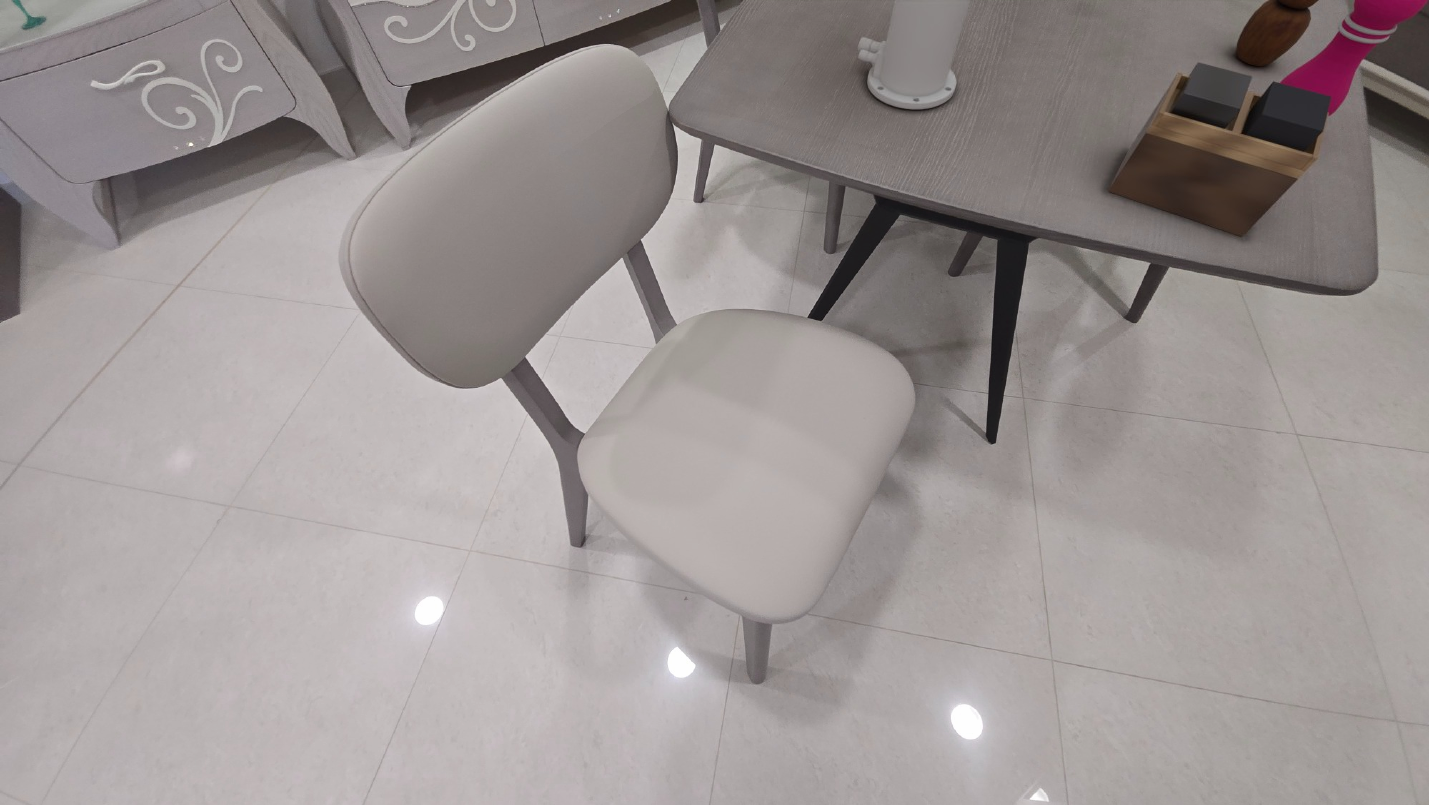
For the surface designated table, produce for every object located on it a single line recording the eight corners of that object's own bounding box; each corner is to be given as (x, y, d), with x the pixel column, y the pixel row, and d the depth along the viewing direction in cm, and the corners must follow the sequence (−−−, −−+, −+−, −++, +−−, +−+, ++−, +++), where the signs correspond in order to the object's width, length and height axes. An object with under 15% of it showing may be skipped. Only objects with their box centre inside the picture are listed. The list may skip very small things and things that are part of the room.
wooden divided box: (1107, 191, 74) (1170, 94, 63) (1127, 151, 77) (1189, 54, 67) (1242, 237, 69) (1335, 140, 58) (1256, 192, 73) (1345, 94, 62)
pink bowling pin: (1257, 106, 82) (1395, -68, 65) (1316, 124, 79) (1476, -51, 62) (1242, 131, 79) (1382, -43, 62) (1303, 152, 76) (1466, -24, 59)
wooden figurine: (1218, 52, 89) (1299, -67, 76) (1247, 43, 90) (1332, -76, 77) (1255, 75, 85) (1346, -46, 73) (1285, 66, 86) (1381, -55, 74)
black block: (1237, 144, 64) (1262, 114, 61) (1249, 111, 67) (1273, 80, 64) (1295, 161, 62) (1323, 131, 59) (1304, 126, 65) (1331, 96, 62)
